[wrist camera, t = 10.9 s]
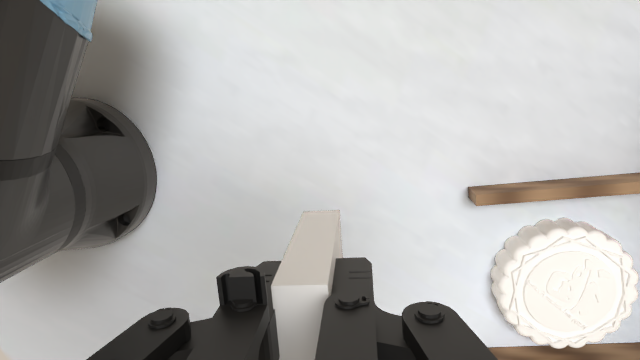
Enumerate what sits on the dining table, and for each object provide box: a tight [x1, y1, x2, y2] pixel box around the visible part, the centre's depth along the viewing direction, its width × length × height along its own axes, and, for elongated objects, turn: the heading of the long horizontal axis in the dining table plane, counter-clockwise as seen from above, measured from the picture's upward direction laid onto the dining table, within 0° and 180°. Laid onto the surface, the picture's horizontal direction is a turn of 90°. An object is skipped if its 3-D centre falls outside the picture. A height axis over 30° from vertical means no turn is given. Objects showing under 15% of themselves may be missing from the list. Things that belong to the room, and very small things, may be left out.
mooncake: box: [491, 218, 639, 349], centre depth 39 cm, size 12×12×4 cm
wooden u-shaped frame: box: [468, 173, 640, 360], centre depth 39 cm, size 18×18×3 cm
